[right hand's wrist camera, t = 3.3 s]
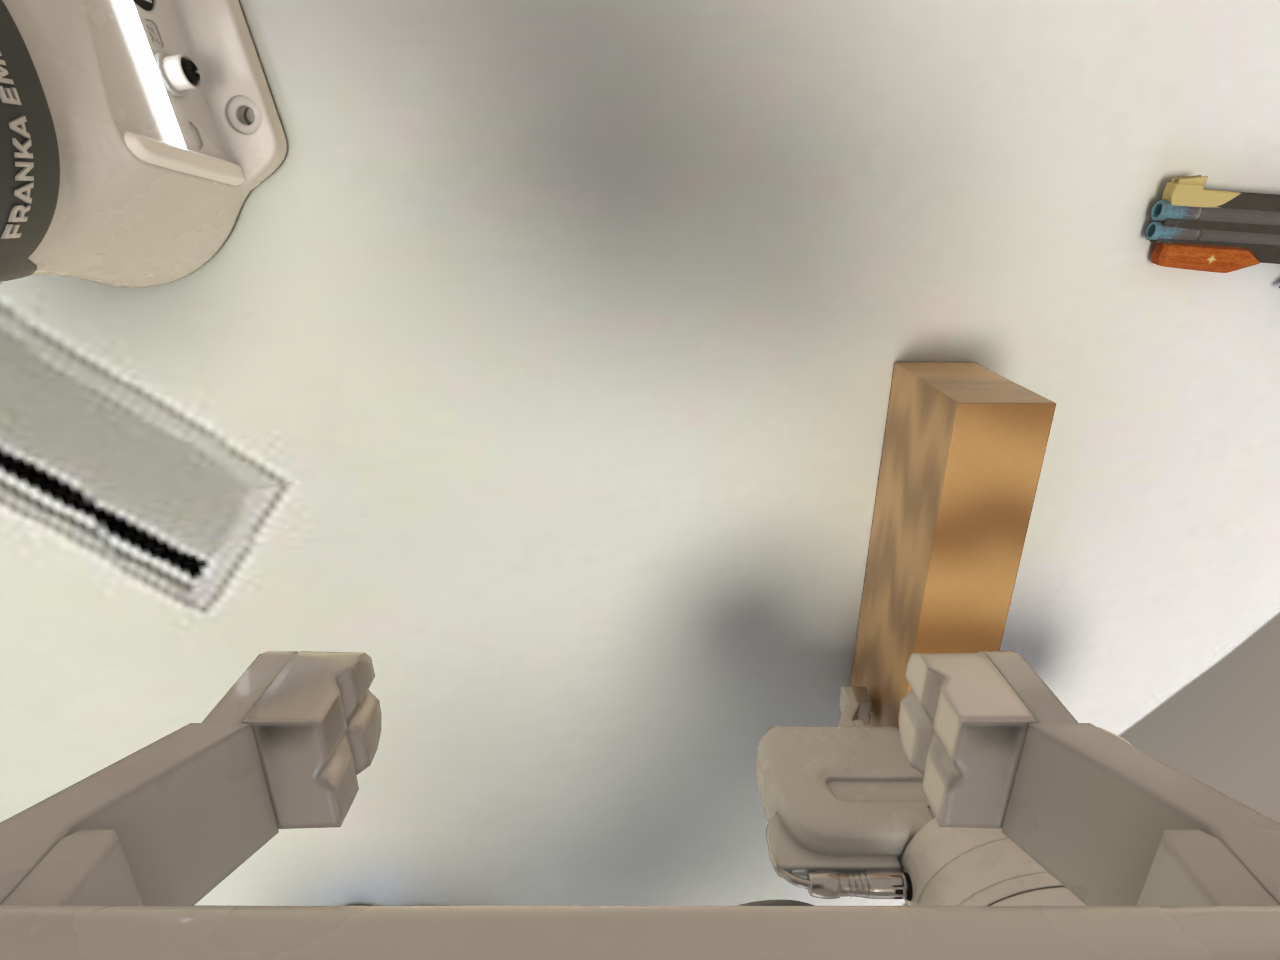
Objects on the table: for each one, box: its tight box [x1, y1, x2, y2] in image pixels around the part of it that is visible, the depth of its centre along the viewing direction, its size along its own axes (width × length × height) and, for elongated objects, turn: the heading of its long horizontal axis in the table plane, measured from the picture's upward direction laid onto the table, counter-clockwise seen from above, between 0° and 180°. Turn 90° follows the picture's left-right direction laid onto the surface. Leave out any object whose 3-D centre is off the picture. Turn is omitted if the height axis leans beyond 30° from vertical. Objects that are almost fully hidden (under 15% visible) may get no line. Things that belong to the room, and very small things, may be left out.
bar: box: [850, 362, 1056, 729], centre depth 40 cm, size 25×4×9 cm, turn 0°
